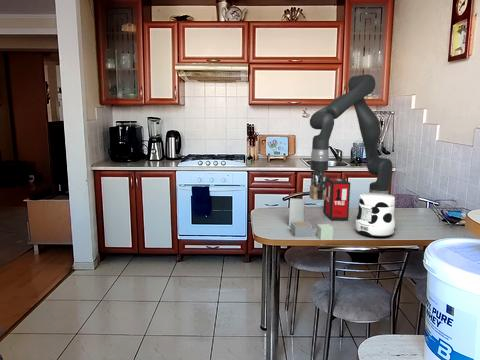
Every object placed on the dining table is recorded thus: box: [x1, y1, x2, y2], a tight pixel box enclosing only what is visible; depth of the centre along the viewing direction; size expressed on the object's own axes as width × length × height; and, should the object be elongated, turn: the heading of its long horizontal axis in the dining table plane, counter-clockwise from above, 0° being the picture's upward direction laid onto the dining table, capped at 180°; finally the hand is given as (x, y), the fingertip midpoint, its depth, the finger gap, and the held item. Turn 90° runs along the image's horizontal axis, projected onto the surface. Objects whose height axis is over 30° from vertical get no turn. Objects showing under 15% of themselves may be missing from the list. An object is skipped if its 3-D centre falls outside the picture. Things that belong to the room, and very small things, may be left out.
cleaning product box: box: [322, 176, 351, 222], centre depth 210 cm, size 16×9×20 cm, turn 2°
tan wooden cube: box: [309, 185, 326, 201], centre depth 175 cm, size 6×6×6 cm
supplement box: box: [288, 198, 306, 227], centre depth 195 cm, size 7×7×13 cm
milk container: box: [355, 192, 396, 238], centre depth 181 cm, size 17×17×18 cm
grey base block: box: [290, 221, 314, 238], centre depth 181 cm, size 8×8×5 cm
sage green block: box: [316, 223, 334, 241], centre depth 176 cm, size 6×6×6 cm
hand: (317, 197), depth 175 cm, fingers closed on tan wooden cube, 5 cm apart
